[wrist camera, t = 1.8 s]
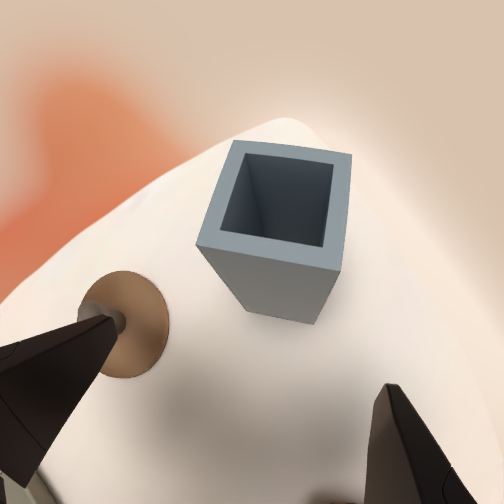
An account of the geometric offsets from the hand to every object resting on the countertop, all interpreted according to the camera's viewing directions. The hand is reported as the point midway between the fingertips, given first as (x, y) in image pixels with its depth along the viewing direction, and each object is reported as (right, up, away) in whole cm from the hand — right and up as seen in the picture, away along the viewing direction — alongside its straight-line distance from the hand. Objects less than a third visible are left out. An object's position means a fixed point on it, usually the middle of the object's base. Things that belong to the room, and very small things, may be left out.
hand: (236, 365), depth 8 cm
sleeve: (+3, +1, +13) cm, 14 cm away
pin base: (-10, -3, +14) cm, 17 cm away
